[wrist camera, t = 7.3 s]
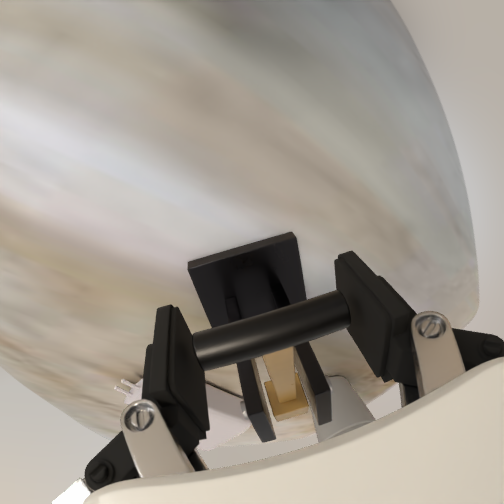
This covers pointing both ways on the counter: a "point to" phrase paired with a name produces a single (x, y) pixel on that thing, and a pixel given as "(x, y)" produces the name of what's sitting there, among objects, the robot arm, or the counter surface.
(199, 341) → the tap lever
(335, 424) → the cup
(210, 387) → the charger
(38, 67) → the counter surface
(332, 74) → the counter surface
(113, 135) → the counter surface
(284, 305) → the bracket
